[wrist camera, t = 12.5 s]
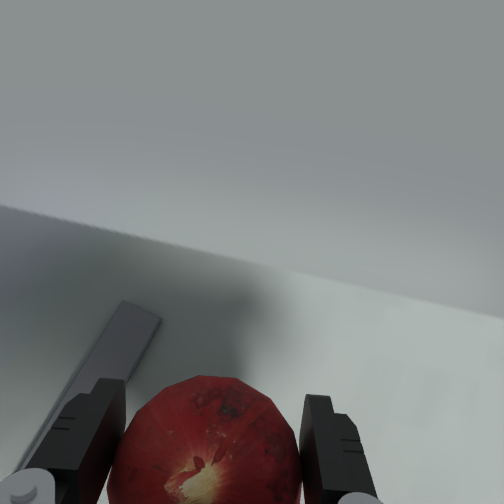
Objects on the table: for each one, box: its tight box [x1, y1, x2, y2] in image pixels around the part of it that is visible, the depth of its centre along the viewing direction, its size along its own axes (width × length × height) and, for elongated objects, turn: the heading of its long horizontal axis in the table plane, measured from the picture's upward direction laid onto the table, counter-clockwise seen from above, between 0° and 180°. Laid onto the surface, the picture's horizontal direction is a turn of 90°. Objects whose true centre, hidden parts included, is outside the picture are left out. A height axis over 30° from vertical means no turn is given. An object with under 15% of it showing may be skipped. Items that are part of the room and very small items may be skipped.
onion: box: [106, 375, 303, 504], centre depth 13 cm, size 6×6×8 cm
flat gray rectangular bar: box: [19, 300, 162, 471], centre depth 17 cm, size 2×14×1 cm, turn 156°
